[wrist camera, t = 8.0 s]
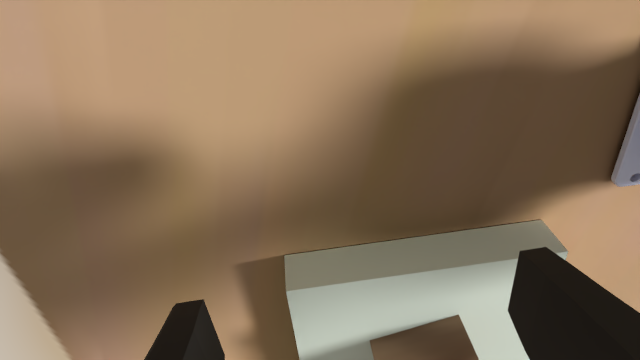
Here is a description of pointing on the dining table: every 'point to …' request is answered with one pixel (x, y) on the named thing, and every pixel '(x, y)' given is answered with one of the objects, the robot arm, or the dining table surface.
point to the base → (411, 290)
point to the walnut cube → (427, 343)
